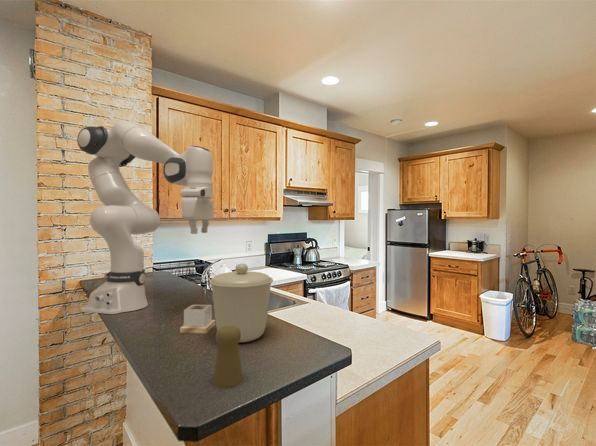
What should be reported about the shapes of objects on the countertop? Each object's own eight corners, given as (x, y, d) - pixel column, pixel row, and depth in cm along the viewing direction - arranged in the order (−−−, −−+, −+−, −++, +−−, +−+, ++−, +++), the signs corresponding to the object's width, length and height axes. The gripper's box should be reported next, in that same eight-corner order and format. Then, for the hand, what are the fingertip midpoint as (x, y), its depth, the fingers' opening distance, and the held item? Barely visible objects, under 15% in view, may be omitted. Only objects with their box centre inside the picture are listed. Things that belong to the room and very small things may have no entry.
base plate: (180, 332, 92) (180, 312, 92) (190, 323, 100) (191, 305, 100) (206, 333, 92) (206, 313, 92) (215, 324, 100) (215, 305, 100)
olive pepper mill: (232, 390, 61) (232, 334, 61) (207, 384, 63) (207, 330, 63) (248, 376, 66) (248, 325, 66) (224, 370, 69) (224, 321, 69)
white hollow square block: (183, 326, 93) (183, 310, 93) (192, 320, 99) (192, 304, 99) (204, 327, 92) (204, 310, 92) (211, 320, 99) (211, 304, 99)
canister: (198, 334, 91) (199, 262, 91) (251, 322, 102) (252, 258, 102) (227, 355, 77) (227, 270, 77) (285, 337, 88) (285, 264, 88)
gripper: (201, 195, 117) (201, 232, 117) (177, 190, 97) (177, 234, 97) (218, 195, 117) (217, 232, 117) (197, 190, 97) (197, 234, 97)
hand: (199, 233), depth 107 cm, fingers open, 8 cm apart
